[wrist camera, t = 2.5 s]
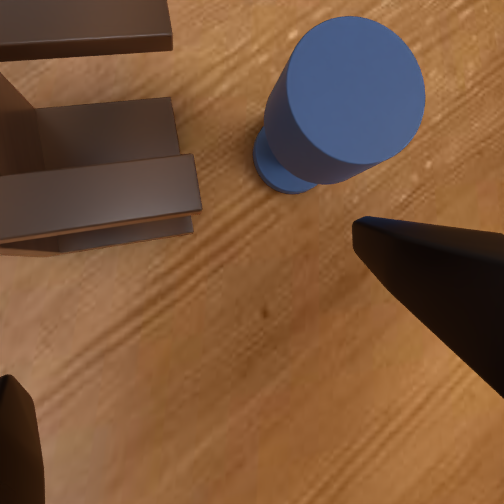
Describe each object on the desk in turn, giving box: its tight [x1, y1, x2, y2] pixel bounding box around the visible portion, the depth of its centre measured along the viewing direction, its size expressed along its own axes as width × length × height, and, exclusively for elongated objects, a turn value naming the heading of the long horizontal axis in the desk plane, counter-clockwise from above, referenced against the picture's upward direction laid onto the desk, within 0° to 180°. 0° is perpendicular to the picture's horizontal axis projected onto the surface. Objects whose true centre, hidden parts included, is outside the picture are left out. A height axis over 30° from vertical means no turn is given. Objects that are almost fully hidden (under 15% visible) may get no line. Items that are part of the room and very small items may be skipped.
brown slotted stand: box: [0, 0, 202, 257], centre depth 17 cm, size 8×8×10 cm
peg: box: [253, 16, 425, 194], centre depth 20 cm, size 6×6×10 cm
